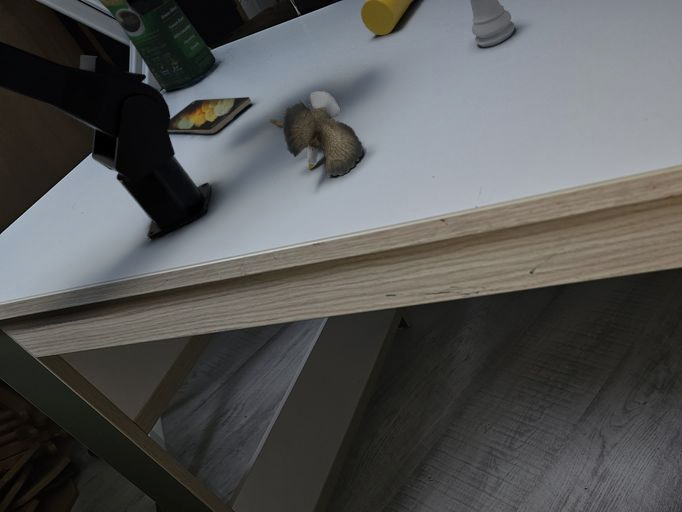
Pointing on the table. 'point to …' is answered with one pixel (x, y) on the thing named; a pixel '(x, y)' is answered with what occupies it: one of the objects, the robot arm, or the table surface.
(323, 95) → the eagle figurine
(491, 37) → the rook chess piece
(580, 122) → the table surface
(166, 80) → the coffee jar
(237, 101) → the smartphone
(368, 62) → the table surface
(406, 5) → the yellow cylindrical tube
